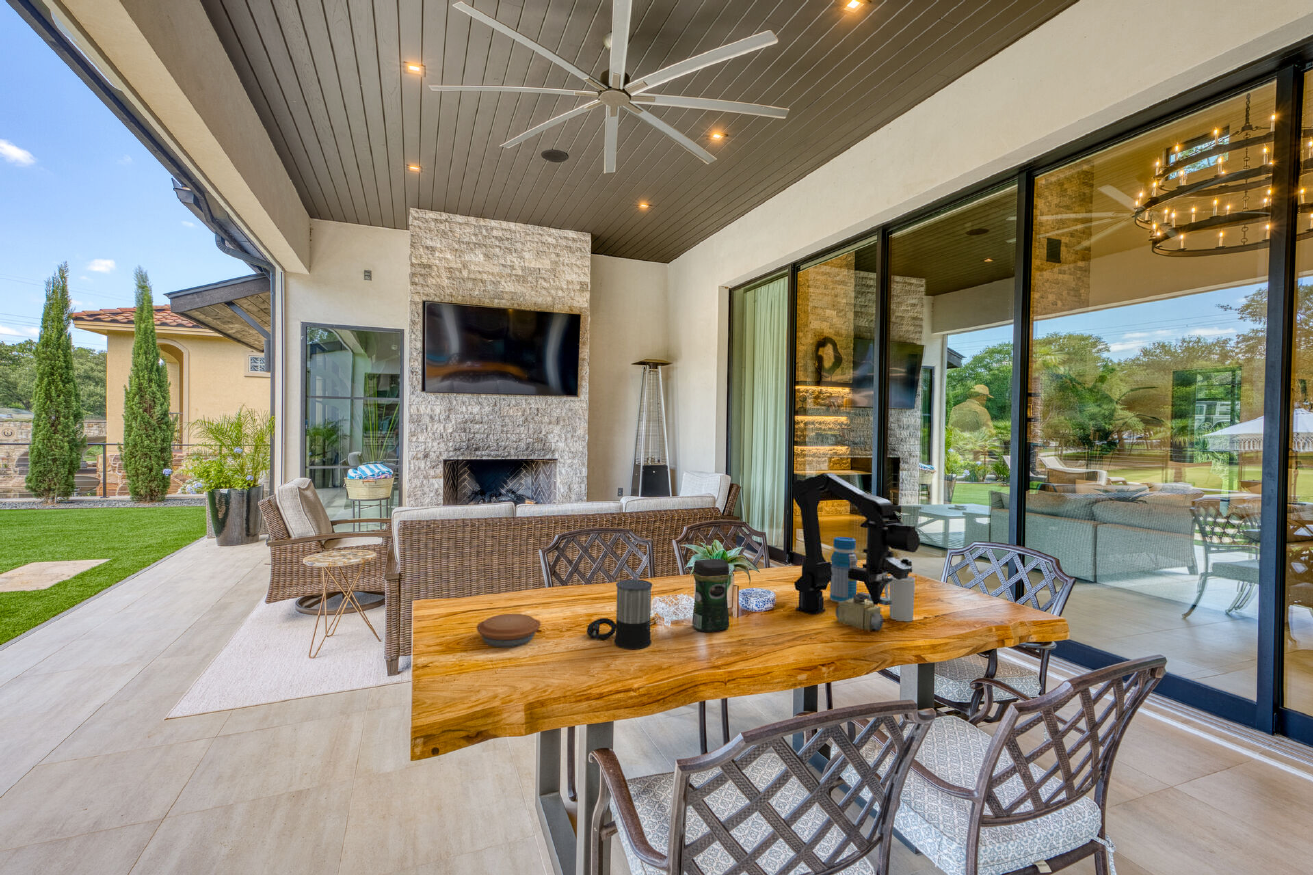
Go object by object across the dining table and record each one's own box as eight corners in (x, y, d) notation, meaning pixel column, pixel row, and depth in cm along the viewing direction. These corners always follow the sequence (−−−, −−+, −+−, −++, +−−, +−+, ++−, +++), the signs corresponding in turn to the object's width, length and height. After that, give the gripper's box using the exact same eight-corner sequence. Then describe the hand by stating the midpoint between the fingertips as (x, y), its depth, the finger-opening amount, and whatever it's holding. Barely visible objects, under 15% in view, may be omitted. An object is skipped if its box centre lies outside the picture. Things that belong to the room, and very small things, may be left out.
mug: (919, 620, 165) (920, 579, 165) (901, 623, 163) (902, 581, 163) (893, 610, 175) (894, 571, 175) (875, 612, 172) (876, 572, 172)
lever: (885, 610, 152) (885, 601, 152) (851, 599, 161) (851, 591, 161) (893, 608, 154) (893, 599, 154) (858, 598, 163) (858, 589, 163)
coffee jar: (719, 621, 160) (720, 555, 160) (733, 630, 153) (734, 561, 153) (687, 624, 157) (689, 557, 157) (700, 634, 150) (702, 563, 150)
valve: (833, 620, 163) (834, 598, 163) (845, 617, 167) (846, 594, 167) (873, 632, 154) (873, 608, 154) (884, 628, 158) (885, 604, 158)
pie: (517, 655, 133) (517, 633, 133) (462, 645, 138) (463, 624, 138) (552, 634, 147) (552, 614, 147) (501, 626, 153) (501, 607, 153)
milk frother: (653, 649, 138) (655, 588, 138) (588, 651, 136) (589, 589, 136) (645, 629, 152) (647, 574, 152) (586, 631, 150) (587, 574, 150)
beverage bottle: (831, 603, 181) (832, 540, 181) (827, 596, 190) (829, 535, 190) (859, 605, 180) (860, 541, 180) (854, 597, 188) (855, 537, 188)
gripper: (886, 553, 142) (884, 616, 142) (924, 548, 154) (922, 607, 153) (847, 546, 151) (845, 606, 151) (886, 542, 163) (884, 597, 162)
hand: (875, 604), depth 154 cm, fingers closed
